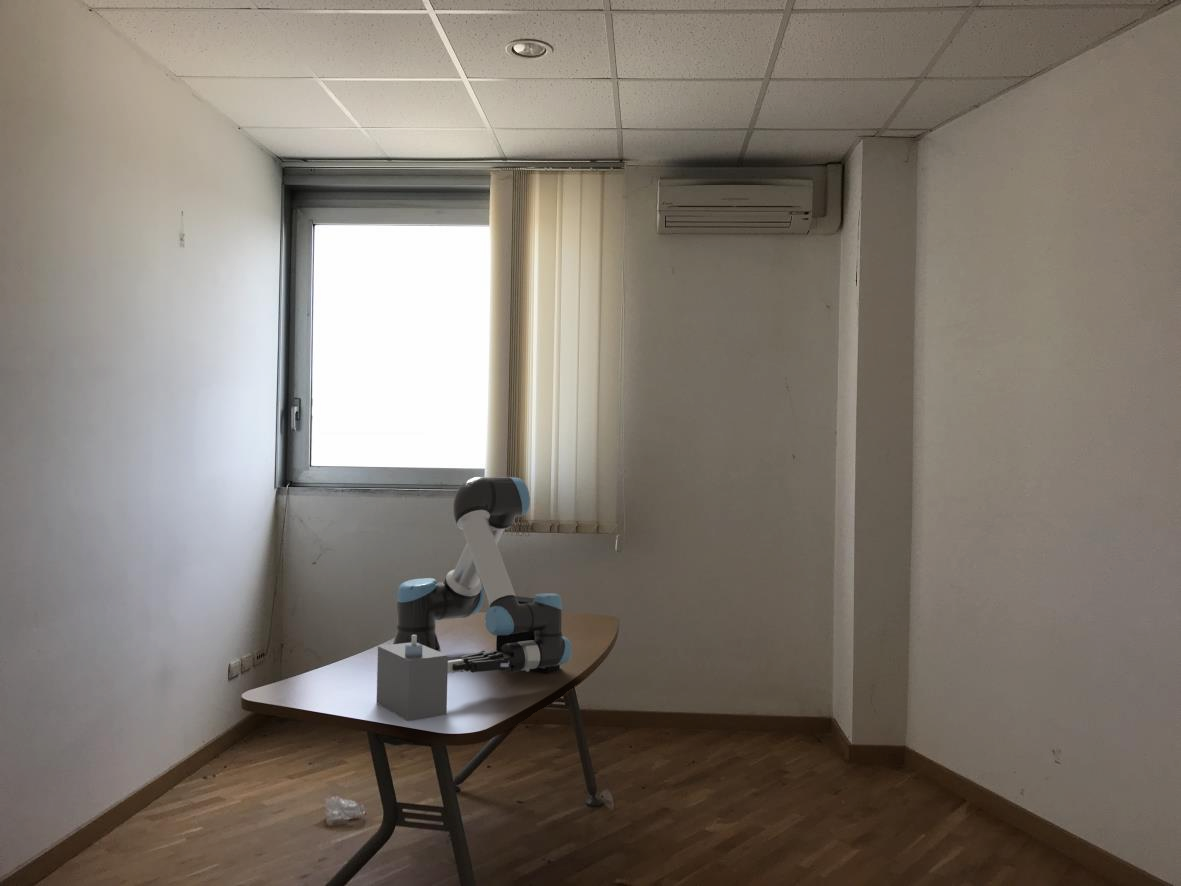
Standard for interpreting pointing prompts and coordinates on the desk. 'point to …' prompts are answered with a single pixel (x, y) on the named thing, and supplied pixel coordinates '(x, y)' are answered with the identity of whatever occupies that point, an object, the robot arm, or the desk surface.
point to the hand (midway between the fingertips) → (439, 668)
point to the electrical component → (523, 637)
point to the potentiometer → (413, 648)
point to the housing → (412, 682)
